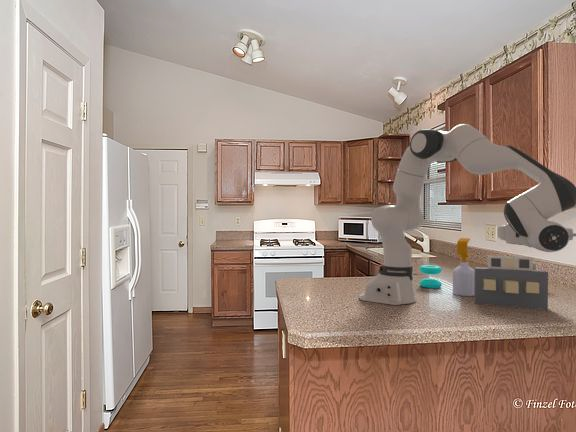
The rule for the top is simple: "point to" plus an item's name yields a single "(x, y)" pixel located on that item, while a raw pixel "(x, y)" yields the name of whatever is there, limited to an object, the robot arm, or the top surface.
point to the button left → (489, 284)
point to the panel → (511, 270)
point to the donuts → (432, 270)
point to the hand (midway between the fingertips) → (528, 231)
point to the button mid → (510, 286)
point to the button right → (532, 287)
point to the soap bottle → (463, 272)
